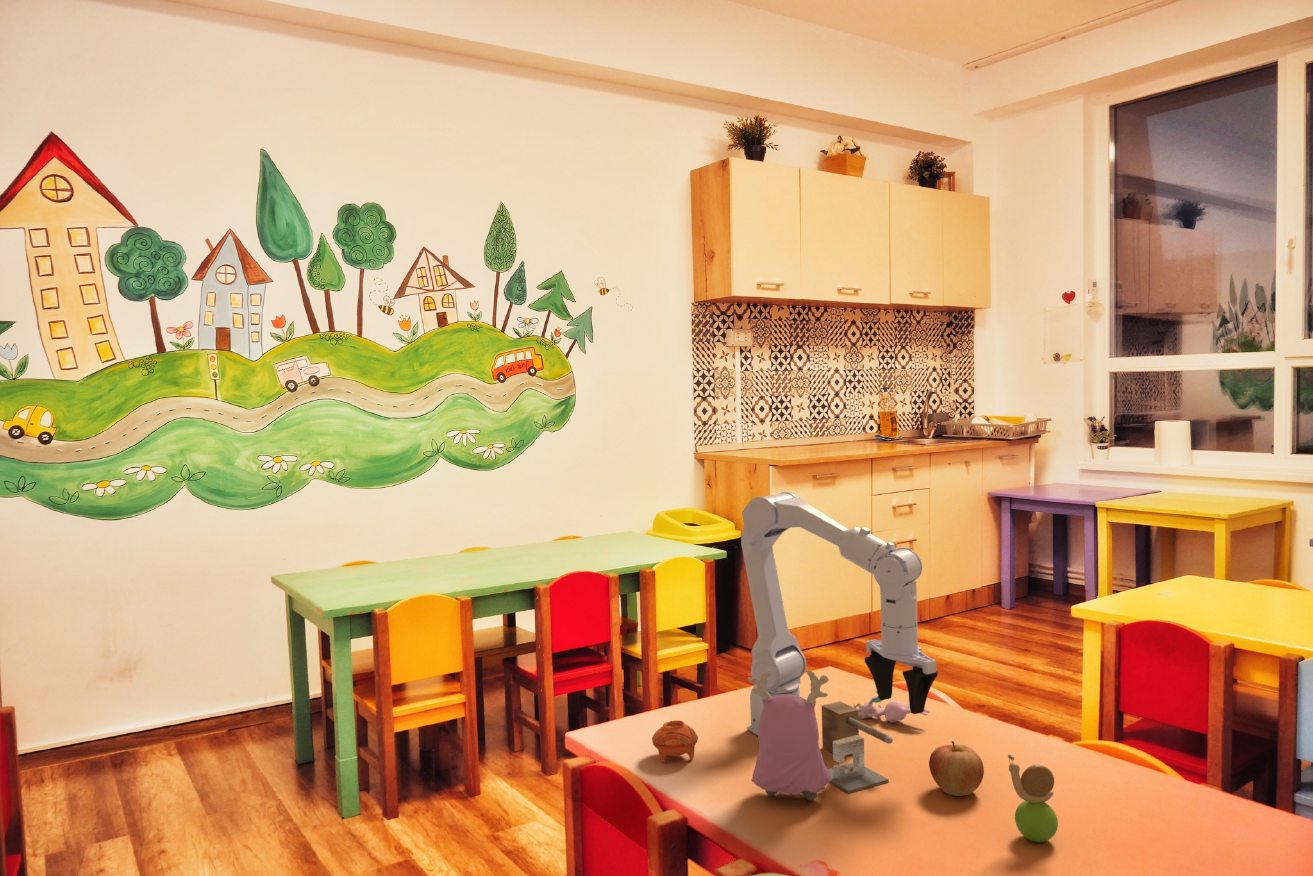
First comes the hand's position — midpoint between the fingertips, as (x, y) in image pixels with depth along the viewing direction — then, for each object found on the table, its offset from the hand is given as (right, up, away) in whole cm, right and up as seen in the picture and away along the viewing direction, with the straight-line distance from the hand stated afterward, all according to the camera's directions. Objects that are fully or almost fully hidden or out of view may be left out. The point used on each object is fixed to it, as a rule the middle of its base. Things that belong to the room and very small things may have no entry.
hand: (900, 705), depth 146 cm
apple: (+6, -11, -9) cm, 15 cm away
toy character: (-19, -12, -9) cm, 24 cm away
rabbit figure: (+4, -10, +21) cm, 24 cm away
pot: (-37, -12, +8) cm, 39 cm away
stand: (-6, -10, +4) cm, 13 cm away
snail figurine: (+11, -11, -24) cm, 29 cm away
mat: (-9, -11, -3) cm, 14 cm away
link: (-9, -11, -3) cm, 14 cm away
